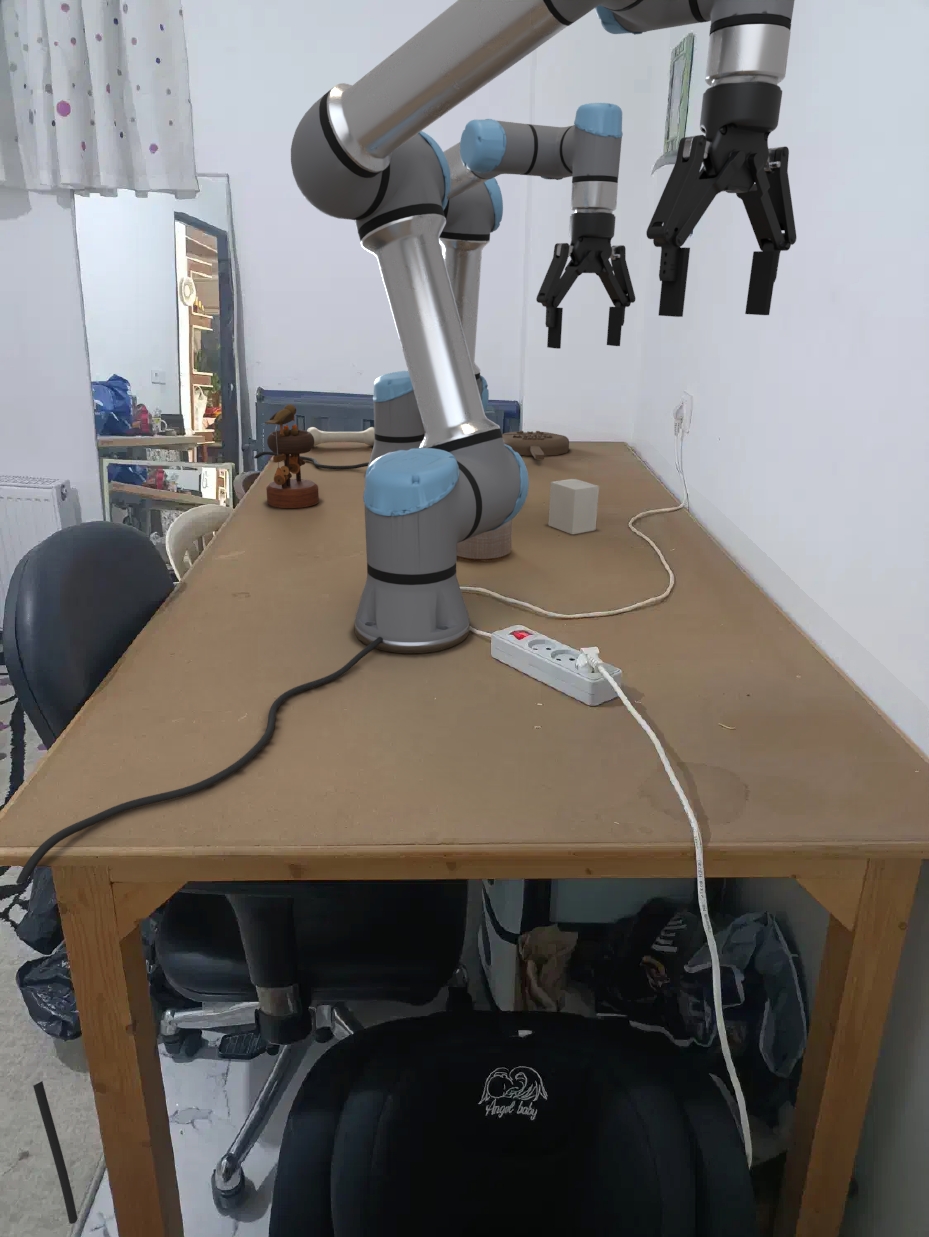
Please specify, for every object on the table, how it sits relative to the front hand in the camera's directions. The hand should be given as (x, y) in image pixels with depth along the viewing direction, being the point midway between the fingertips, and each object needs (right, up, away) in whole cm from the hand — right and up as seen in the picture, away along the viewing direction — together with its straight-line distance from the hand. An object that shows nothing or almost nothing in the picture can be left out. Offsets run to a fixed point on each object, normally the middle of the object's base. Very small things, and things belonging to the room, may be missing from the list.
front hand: (715, 315), depth 91 cm
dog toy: (-60, +14, +140) cm, 153 cm away
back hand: (-6, +15, +57) cm, 59 cm away
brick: (-7, -15, +69) cm, 71 cm away
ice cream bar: (-9, +11, +133) cm, 134 cm away
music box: (-62, -8, +84) cm, 105 cm away
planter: (-25, -22, +54) cm, 63 cm away
